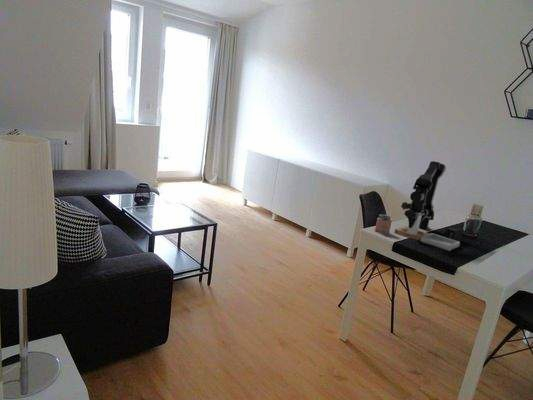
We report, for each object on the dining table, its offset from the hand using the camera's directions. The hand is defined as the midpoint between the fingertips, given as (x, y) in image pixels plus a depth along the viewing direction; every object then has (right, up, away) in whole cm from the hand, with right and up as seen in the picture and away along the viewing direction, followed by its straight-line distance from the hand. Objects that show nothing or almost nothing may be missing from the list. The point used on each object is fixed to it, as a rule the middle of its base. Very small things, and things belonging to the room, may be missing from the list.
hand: (413, 227), depth 207 cm
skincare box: (-1, -5, +1) cm, 5 cm away
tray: (+10, -8, -9) cm, 16 cm away
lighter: (-18, -3, -1) cm, 18 cm away
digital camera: (+22, -8, +2) cm, 23 cm away
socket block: (-1, -4, +1) cm, 5 cm away
